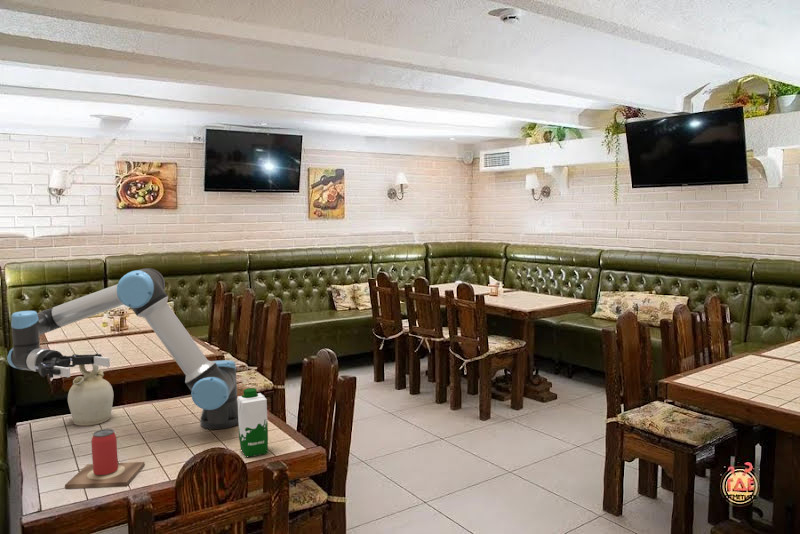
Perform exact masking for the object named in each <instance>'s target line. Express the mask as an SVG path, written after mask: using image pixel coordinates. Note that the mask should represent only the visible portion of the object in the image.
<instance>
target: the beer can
mask: <svg viewBox="0 0 800 534" xmlns="http://www.w3.org/2000/svg"><path fill="white" fill-rule="evenodd" d="M117 440H118V439H117V435H116V434H115V430H114V429H111V428H105V429H100V430H96V431H95V432H93V434H92V437H91V442H90V444H91V457H92V464H93V472H94V474H95V475H98V476H104V475H109V474H112V473H114V472H115V471H117V469H118V463H119V460H118V459H119V457H118V445H117V443H118V442H117Z"/></svg>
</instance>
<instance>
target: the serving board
mask: <svg viewBox="0 0 800 534" xmlns="http://www.w3.org/2000/svg"><path fill="white" fill-rule="evenodd" d="M143 468H145V461H138V462H137V461H136V462H133V461H131V462H118V469H117V471H115V472H114V473H112V474H109V475H104V476H98V475H95V474H94V472H93V463H91V464H90V463H88V464H86V465H85V466H83V468H82V469H81V470H80V471H78V472H77V473H76V474H75V475H74V476H73V477H72V478H71V479H70V480H68V481H67V482H66V483H65V484H64V487H65V488H64V489H65V490H70V489H71V490H72V489H90V488H95V489H96V488H112V487H114V488H115V487H117V488H118V487H128V485H130V483H131V482H132V481H133V480H134V479H135V477H136V476H137V475H138V474H139V473H140V472H141V471H142V469H143ZM140 470H141V471H140Z"/></svg>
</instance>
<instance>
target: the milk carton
mask: <svg viewBox="0 0 800 534" xmlns="http://www.w3.org/2000/svg"><path fill="white" fill-rule="evenodd" d="M267 400H268V399H267V398H266V397H265V395H264V394H262V393H261V392H258V393H257V388H254V387H252V388H251V387H249V388H245V389H244V390H243V394H242V395H240V396H239V395H237V401H238V440H239V446H240V451H241V450H242V451H241V453H242V452H243V453H244V454H243V453H242V454H243V456H244V455H245V456H246V457H247V456H253V457H255V456H254V455H258V456H260V455H259V454H263V455H267V454H266V453H269V451H268V449H269V428H268V427H269V426H268V403H267V402H268V401H267ZM245 456H244V457H245ZM246 457H245V458H246Z"/></svg>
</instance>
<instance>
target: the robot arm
mask: <svg viewBox="0 0 800 534" xmlns="http://www.w3.org/2000/svg"><path fill="white" fill-rule="evenodd" d="M165 288H166V281H165V278H164V277H163V275H162V273H160V272H159V271H158V270H156V269H154V268H149V267H147V268H145V267H144V268H141V269H137V270H132V271H129V272H127V273H126V274H124V275H123V276H122V277H121V278H120V279H119V281H118V283H117V284H114V285H112V286H111V285H110V286H108V287H106V288H103V289H100V290H98V291H95V292H92V293H89V294H86V295H83V296H81V297H78V298H75V299H73V300H70V301H67V302H64V303H62V304H59V305H55V306H53V307H51V308H48V309H44V310H42V311H39V312H37V311H36V310H20V311H16V312H12V314H11V316H10V317H11V319H10V322H11V323H10V326H11V336H12V338H11V339H12V348H11V349H10V350H9V351H8V355H7V357H6V359H7V363H8V364H9V366H10V367H12V368H14V369H17V370H20V371H31V372H37V373H39V375H40V376H41V377H42V378H45V377H46V376H47V375H48V379H52V378H54V376H56V377H58V376H59V377H63V378H70V377H71V368H75V367H76V366H79V365H92V364H94V365H98V367H111V363H110V360H111V359H110V357H105V356H102V354H101V353H99V354H98V353H97V352H96V353H94V354H72V355H63V354H62V353H61V352H60V351H58V350H55V349H48V348H40V347H41V346H40V345H41V344H40V336H42V335H43V334H46V333H49V332H52V331H54V330H57V329H60V328H63V327H65V326H68V325H71V324H74V323H76V322H79V321H82V320H84V319H88V318H90V317H93V316H96V315H99V314H101V313H105V312H107V311H109V310H113V309H116V308H119V307H120V306H125V307H128V308H130V309H132V311H133V313H134V314H135V315H136V317H138V318H143V319H144V320H146V321H145V322H146V323H147V324H148V325H149V327H150V328H151V329H152V330H153V332H154V334H156V336H157V337H158V339H159V340H160V341H161V343H162V344H163V346H164V348H165V349H166V350H167V351H168V353H169V354H170V355H171V357H172V358H173V359H174V361H175V362H176V364H177V365H178V366H179V368H180V369H181V371H182V372H183V373H184V375H185V381H184V383H185V384H186V386H187V387H188V388H189V390H190V392H191V393H190V395H191V399H192V402H193V403H194V405H195V406H197V407H198V408H200V409H202V411H201V415H200V418H199V419H200V420H199V423H200V426H201V427H202V428H204V429H208V430H223V429H228V427H229V428H232V426H233V427H235V425H236V426H239V424H238V386H237V385H238V384H237V382H238V381H237V365H236V364H237V363H236V362H235V361H234V360H229V359H228V360H227V359H224V360H223V359H222V360H209V359H208V358H207V357H206V355H205V354H204V353H203V352H202V350H201V348H200V347H199V346H198V343H196V342H195V340H194V339H193V338H192V336H191V335H190V333H189V331H188V330H187V329H186V328H185V326H184V325H183V323H182V322H181V321H180V319H179V318H178V316H177V315H176V314H175V313H174V311H173V309H172V308H171V306H170V305H169V304H168V299H169V295H168V294H167V293H166V290H165ZM71 363H72V364H71Z"/></svg>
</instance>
